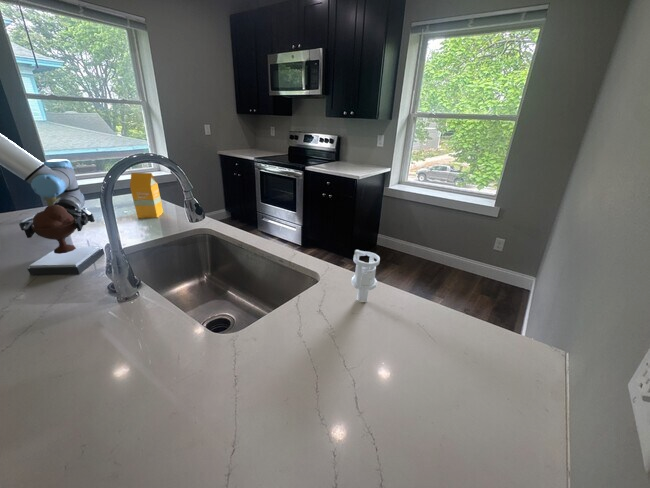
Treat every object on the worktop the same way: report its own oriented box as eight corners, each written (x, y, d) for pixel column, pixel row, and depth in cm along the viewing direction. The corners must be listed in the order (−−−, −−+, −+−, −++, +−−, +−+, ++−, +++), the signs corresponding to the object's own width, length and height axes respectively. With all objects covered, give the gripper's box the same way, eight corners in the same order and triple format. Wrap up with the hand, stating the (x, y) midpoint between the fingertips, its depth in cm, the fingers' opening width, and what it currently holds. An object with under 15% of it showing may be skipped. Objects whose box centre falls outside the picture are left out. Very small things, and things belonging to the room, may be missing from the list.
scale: (29, 275, 91) (25, 266, 90) (61, 254, 104) (58, 246, 102) (79, 274, 93) (76, 265, 91) (104, 253, 105) (102, 245, 104)
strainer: (357, 290, 90) (362, 245, 84) (378, 298, 87) (384, 252, 80) (345, 300, 85) (349, 254, 79) (367, 310, 81) (372, 262, 75)
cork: (46, 218, 134) (37, 194, 129) (59, 213, 139) (51, 190, 134) (58, 219, 133) (49, 195, 128) (70, 215, 138) (62, 191, 133)
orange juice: (144, 212, 145) (135, 171, 136) (163, 212, 146) (155, 171, 137) (137, 217, 138) (126, 174, 129) (157, 217, 139) (148, 175, 130)
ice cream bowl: (82, 240, 103) (67, 198, 96) (88, 250, 96) (73, 206, 89) (41, 248, 96) (23, 204, 90) (45, 261, 89) (25, 213, 83)
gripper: (108, 214, 113) (104, 235, 96) (26, 224, 102) (5, 249, 85) (103, 195, 110) (97, 213, 93) (17, 203, 99) (-7, 224, 82)
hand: (53, 230), depth 89 cm, fingers closed on ice cream bowl, 11 cm apart
